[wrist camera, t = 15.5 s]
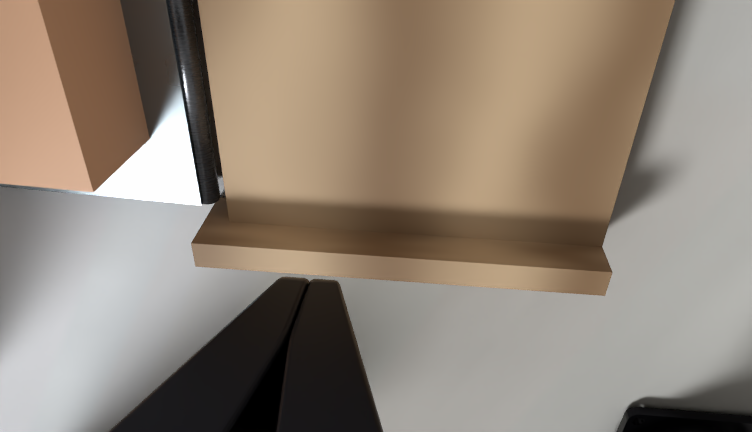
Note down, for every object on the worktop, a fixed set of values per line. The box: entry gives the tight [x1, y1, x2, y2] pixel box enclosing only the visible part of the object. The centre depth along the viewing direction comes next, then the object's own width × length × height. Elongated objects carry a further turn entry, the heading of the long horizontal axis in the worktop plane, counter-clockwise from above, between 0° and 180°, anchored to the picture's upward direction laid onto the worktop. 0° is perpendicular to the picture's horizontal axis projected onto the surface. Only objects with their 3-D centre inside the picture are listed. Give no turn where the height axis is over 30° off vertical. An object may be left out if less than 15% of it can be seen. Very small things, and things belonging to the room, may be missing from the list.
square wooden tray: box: [191, 0, 675, 296], centre depth 17 cm, size 14×14×3 cm
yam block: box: [0, 0, 150, 192], centre depth 17 cm, size 6×6×4 cm
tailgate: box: [0, 0, 220, 205], centre depth 18 cm, size 10×11×1 cm
